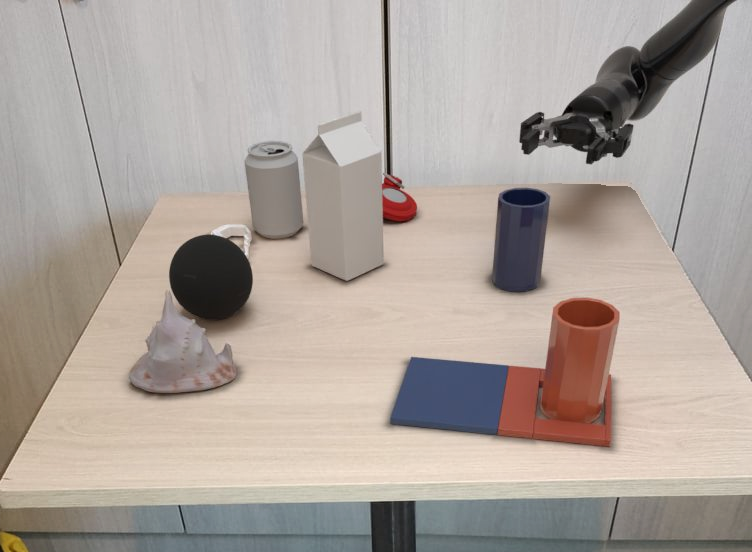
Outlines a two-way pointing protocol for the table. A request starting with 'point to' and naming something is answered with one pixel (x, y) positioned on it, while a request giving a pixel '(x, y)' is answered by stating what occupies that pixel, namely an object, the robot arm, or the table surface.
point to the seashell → (180, 357)
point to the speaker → (210, 277)
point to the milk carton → (344, 198)
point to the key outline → (235, 234)
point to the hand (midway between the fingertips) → (557, 151)
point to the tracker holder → (396, 200)
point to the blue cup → (520, 238)
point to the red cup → (578, 359)
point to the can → (274, 189)
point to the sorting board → (486, 402)
